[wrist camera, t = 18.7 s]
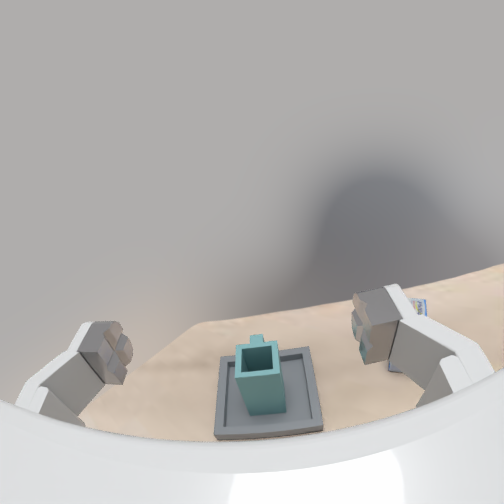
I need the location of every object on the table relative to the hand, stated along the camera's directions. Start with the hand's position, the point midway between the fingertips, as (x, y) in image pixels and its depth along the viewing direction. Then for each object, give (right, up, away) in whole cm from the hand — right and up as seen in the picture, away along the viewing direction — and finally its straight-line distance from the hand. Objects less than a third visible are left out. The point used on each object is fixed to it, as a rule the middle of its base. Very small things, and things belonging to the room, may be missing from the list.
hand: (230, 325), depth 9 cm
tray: (+3, -18, +28) cm, 34 cm away
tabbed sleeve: (+3, -18, +27) cm, 33 cm away
